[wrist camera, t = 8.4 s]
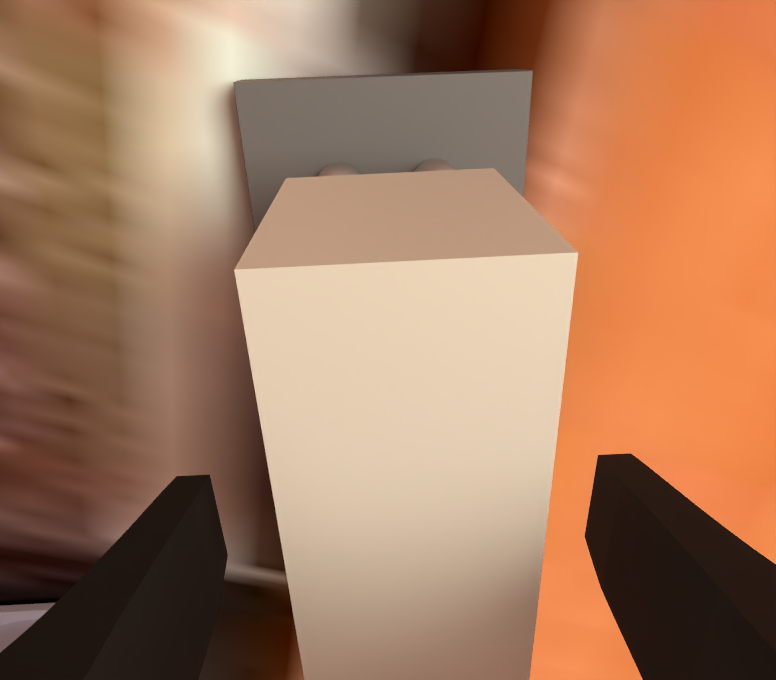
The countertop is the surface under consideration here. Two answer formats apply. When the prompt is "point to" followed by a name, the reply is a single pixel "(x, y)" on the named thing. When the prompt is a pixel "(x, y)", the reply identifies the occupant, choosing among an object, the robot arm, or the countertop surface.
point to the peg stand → (382, 126)
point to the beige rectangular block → (409, 415)
